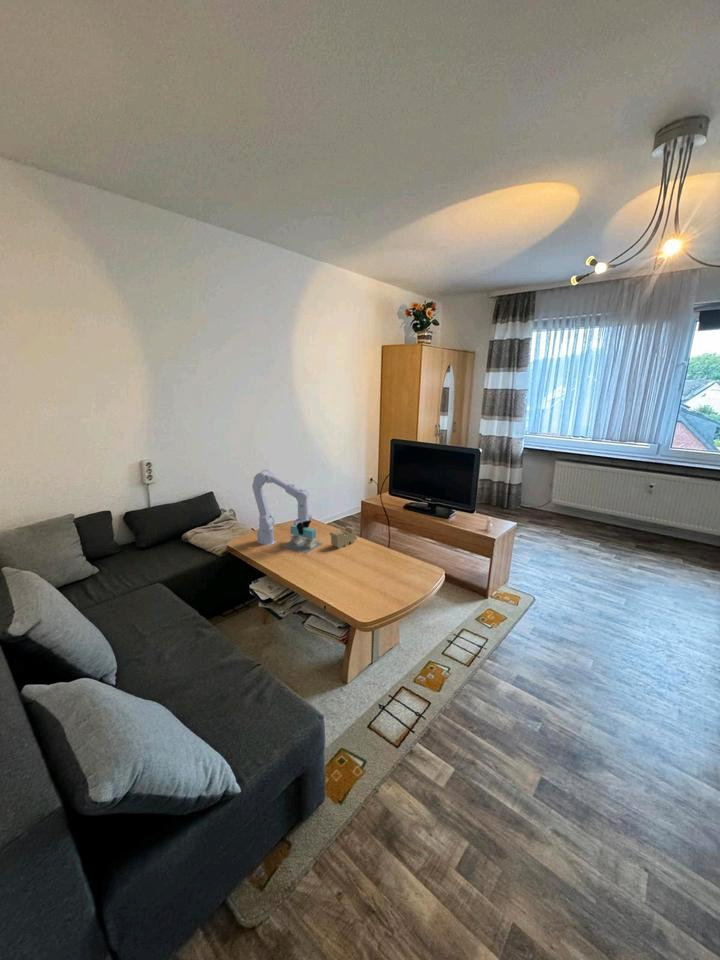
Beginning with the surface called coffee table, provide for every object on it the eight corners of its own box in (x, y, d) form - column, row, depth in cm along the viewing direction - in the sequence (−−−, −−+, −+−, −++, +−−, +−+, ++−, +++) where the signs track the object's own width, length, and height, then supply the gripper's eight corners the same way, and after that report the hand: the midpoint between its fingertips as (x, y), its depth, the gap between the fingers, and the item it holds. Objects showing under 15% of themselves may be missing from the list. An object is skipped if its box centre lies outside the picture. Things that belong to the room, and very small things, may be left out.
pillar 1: (290, 542, 228) (290, 536, 227) (296, 540, 232) (296, 533, 231) (297, 544, 226) (297, 538, 225) (302, 541, 230) (302, 535, 229)
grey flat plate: (281, 547, 223) (281, 546, 223) (299, 537, 237) (299, 537, 237) (305, 554, 215) (305, 553, 214) (322, 544, 228) (322, 543, 228)
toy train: (356, 542, 232) (357, 527, 229) (336, 551, 220) (336, 535, 217) (350, 540, 235) (350, 524, 233) (329, 548, 223) (329, 532, 221)
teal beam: (290, 533, 227) (290, 525, 226) (294, 531, 230) (294, 524, 229) (312, 539, 220) (312, 531, 218) (315, 537, 223) (315, 529, 221)
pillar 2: (304, 546, 223) (303, 540, 222) (309, 543, 227) (309, 537, 226) (310, 548, 221) (310, 542, 220) (316, 545, 225) (316, 539, 224)
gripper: (300, 516, 213) (300, 538, 217) (315, 509, 225) (316, 530, 229) (290, 513, 217) (291, 536, 220) (306, 507, 229) (306, 528, 232)
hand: (303, 533), depth 225 cm, fingers closed on teal beam, 4 cm apart
